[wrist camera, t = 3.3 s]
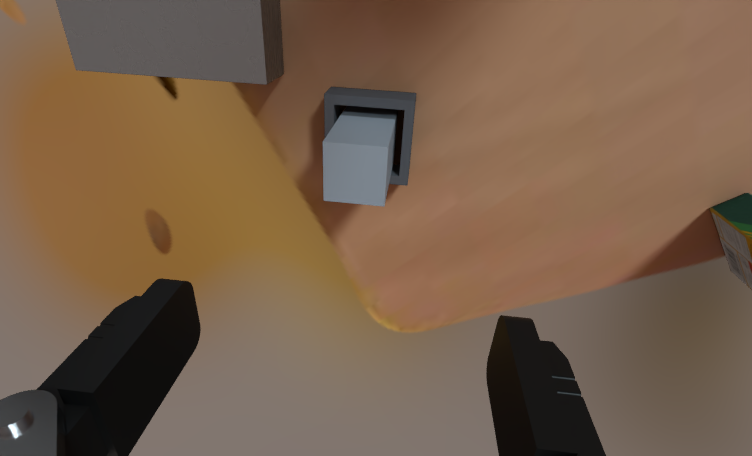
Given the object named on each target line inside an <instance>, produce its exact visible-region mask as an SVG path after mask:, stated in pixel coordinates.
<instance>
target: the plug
mask: <svg viewBox="0 0 752 456" xmlns="http://www.w3.org/2000/svg"><path fill="white" fill-rule="evenodd" d="M397 117H398V109H385V108H372V107H359V106H346V108H345V109H344V111H343V112H342V114H341V115H340V117H339V118H338V120H337V121H336V123H335V124H334V126H333V127H332V129H331V130H330V132H329V133H328V135H327V136H326V138H325V139H324V141H323V195H324V201H333V202H343V203H354V204H364V205H375V206H385V201H386V196H387V191H388V186H389V181H390V177H391V172H392V167H393V162H394V157H395V144H396V130H397Z"/></svg>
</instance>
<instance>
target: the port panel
mask: <svg viewBox="0 0 752 456" xmlns="http://www.w3.org/2000/svg"><path fill="white" fill-rule="evenodd" d="M56 3H57V6H58V10H59V13H60V17H61V20H62V24H63V27H64V30H65V34H66V37H67V41H68V44H69V47H70V51H71V55H72V58H73V61H74V64H75V68H76V70H82V71H95V72H108V73H122V74H135V75H147V76H160V77H174V78H188V79H201V80H214V81H226V82H240V83H253V84H266V85H267V84H269V83H270V82H272V81H273V80H275V79H277V78H278V77H280V76H281V75H283V74H284V66H283V48H282V31H281V14H280V0H56Z"/></svg>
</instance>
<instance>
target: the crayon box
mask: <svg viewBox="0 0 752 456" xmlns="http://www.w3.org/2000/svg"><path fill="white" fill-rule="evenodd" d="M710 211H711V214H712V216H713V219H714V222H715V225H716V228H717V231H718V234H719V237H720V240H721V243H722V246H723V249H724V252H725V255H726V258H727V261H728V264H729V266H730V270H731V271H732V272H733V273H734V274H735V275H736V276H737V277H738V278H739V279H740V280H741V281H743V282H744V283H745V284H746V285H747V286H748V287H749V288H750V289H751V290H752V195H751V194H749V193H744V194H743V195H740V196H738V197H735V198H733V199H730V200H728V201H725V202H723V203H721V204H718V205H716V206H713V207H711V208H710Z"/></svg>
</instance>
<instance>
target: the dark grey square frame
mask: <svg viewBox="0 0 752 456" xmlns="http://www.w3.org/2000/svg"><path fill="white" fill-rule="evenodd" d="M415 102H416V93H408V92H395V91H381V90H368V89H355V88H342V87H330V88H329V90H328V91H327V92H326V93H325V94H324V115H325V138H326V136H327V135H328V133H329V132H330V130H331V129H332V127H333V126H334V124H335V123H336V121H337V120H338V118H339V117H340V105H346V106H359V107H372V108H385V109H398V110H405V113H404V125H403V137H402V149H401V161H400V165H398V164H393V167H392V172H391V177H390V181H389V184H397V185H407V184H408V175H409V165H410V155H411V144H412V134H413V123H414V112H415Z"/></svg>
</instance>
